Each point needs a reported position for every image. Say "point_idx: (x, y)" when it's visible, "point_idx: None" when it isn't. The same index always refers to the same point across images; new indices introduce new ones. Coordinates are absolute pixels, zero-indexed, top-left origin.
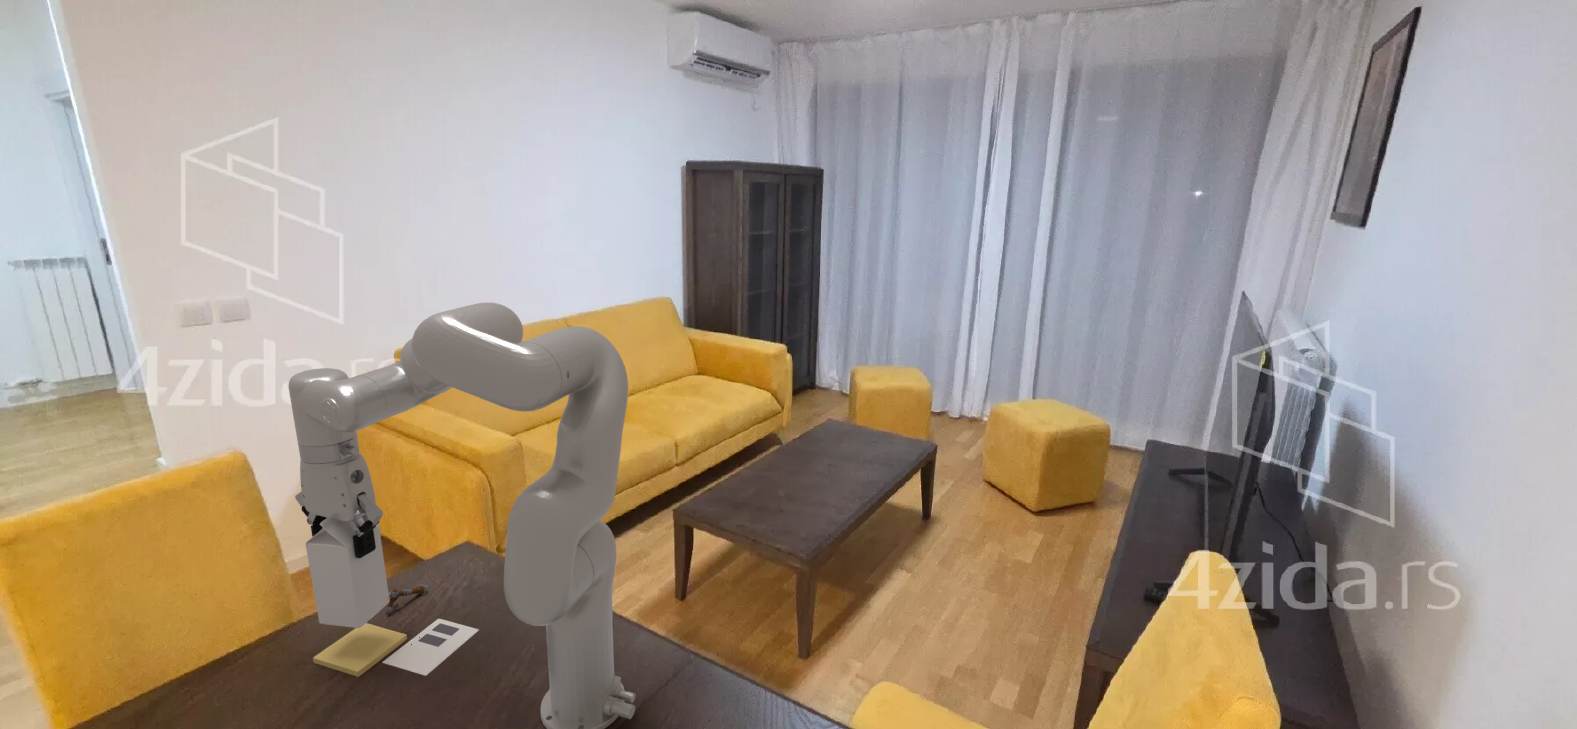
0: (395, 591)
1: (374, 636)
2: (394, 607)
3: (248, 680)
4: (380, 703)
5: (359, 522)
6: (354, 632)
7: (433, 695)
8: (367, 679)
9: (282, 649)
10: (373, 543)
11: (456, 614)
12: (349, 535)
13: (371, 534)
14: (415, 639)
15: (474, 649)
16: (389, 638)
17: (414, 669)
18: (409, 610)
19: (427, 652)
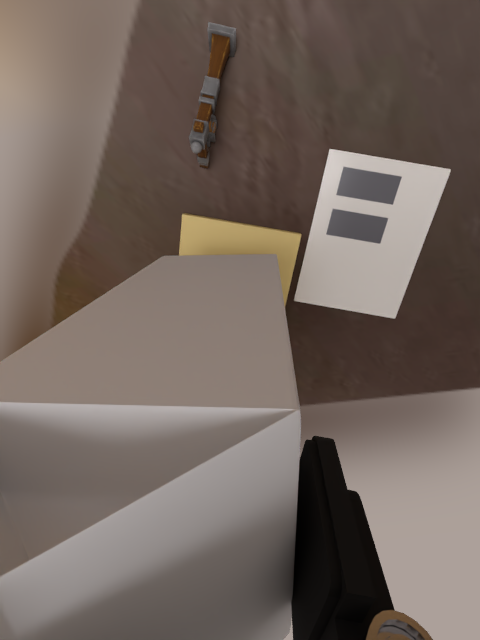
0: (202, 129)
1: (238, 252)
2: (208, 144)
3: None
4: (350, 379)
5: (205, 569)
6: (189, 247)
7: (430, 355)
8: (295, 339)
9: (94, 298)
10: (364, 514)
11: (365, 121)
12: (247, 632)
13: (384, 593)
14: (318, 231)
15: (463, 235)
16: (273, 252)
17: (365, 307)
18: (239, 132)
19: (366, 263)
